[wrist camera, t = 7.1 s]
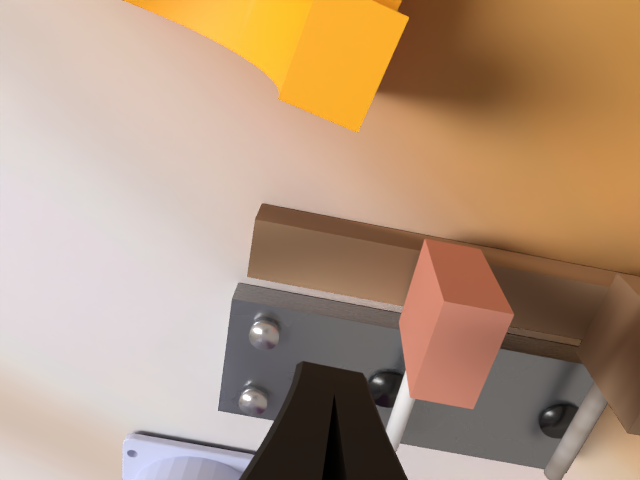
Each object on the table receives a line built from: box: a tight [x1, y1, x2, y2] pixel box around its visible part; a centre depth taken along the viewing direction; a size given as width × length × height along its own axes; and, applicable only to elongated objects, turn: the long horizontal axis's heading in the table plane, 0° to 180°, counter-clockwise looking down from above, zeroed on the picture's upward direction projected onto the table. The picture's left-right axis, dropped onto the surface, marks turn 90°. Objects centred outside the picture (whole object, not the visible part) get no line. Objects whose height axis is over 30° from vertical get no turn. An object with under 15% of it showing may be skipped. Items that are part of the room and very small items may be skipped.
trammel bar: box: [247, 204, 640, 480], centre depth 18 cm, size 9×15×6 cm, turn 80°
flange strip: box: [218, 283, 608, 473], centre depth 21 cm, size 6×16×2 cm, turn 80°
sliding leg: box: [386, 239, 514, 452], centre depth 18 cm, size 9×2×4 cm, turn 170°
